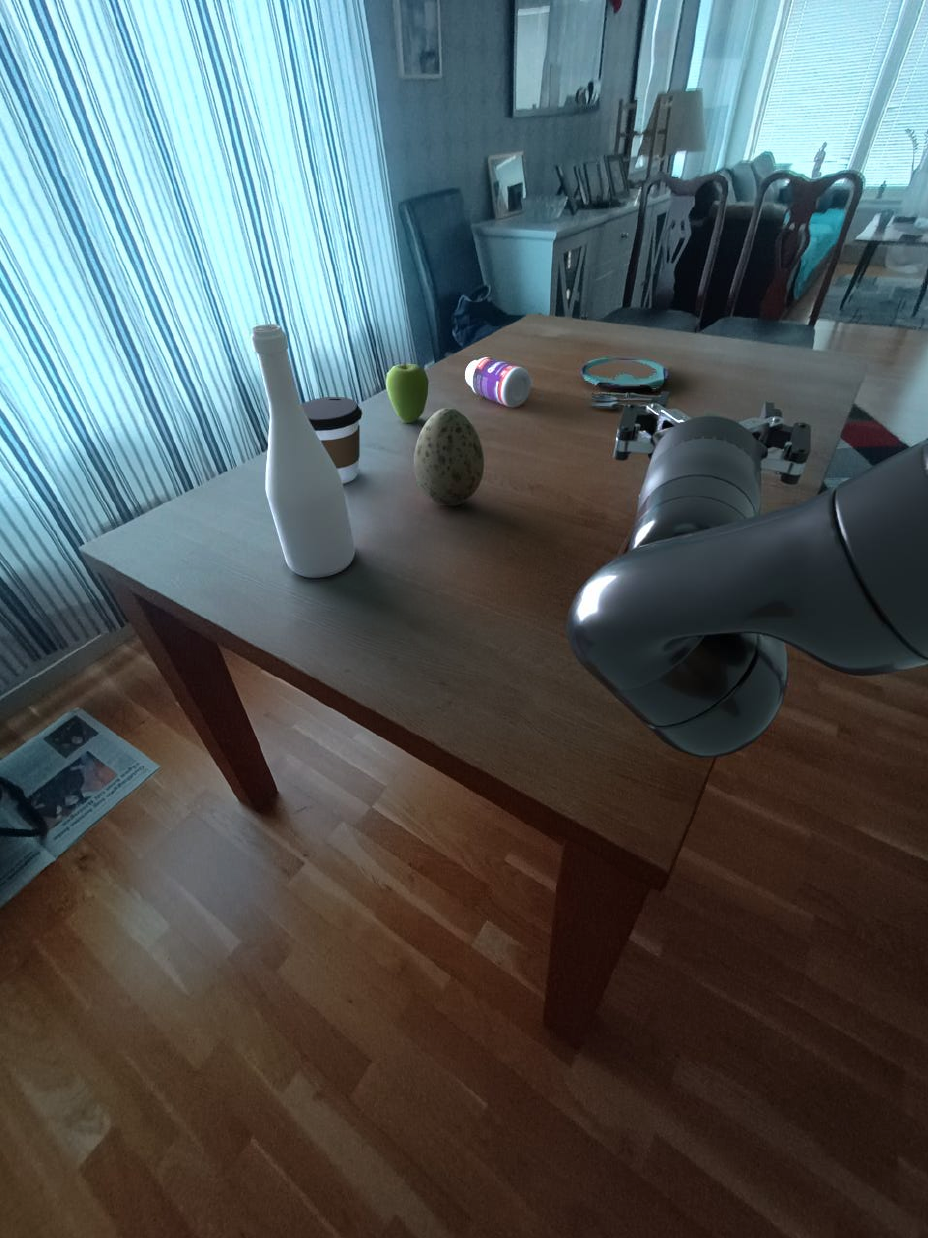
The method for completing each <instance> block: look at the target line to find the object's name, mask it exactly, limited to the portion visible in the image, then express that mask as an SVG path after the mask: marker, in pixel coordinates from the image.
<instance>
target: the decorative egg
mask: <svg viewBox="0 0 928 1238" xmlns="http://www.w3.org/2000/svg"><path fill="white" fill-rule="evenodd" d="M483 450H484V449H483V446H482V443H481V440H480V437H479V435H478V432H477V431H476V429H475V427H474V425H473V424H472V423H471V420H469V419H468V418H467V417H466V416H465V414H463V413H462V412H460V411H459V410H457V409H456V408H452V407H444V408H441V409H438V410H437V411H436V412H435V413H433V414H432V416H430V418H428V420H427V421H426V422H425V424H424V425H423V427H422V429H421V430H420V433H419V435H418V438H417V441H416V444H415V449H414V455H413V469H414V470H413V471H414V474H415V479H416V481H417V484H418V486H419V488H420V489H421V491H422V492H423V494H425V496H426V497H427V498H429V499H430V500H431V501H432V502H435V503H437V504H440V505H441V506H457V505H460V504H462V503H464V502H466V501H467V500H469V499H470V498H471V497H472V496H473V495H474V494H475V492H476V491H477V490H478V488H479V487H480V484H481V482H482V479H483V476H484V468H485V457H484V451H483Z"/></svg>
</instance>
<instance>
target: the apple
mask: <svg viewBox="0 0 928 1238" xmlns="http://www.w3.org/2000/svg"><path fill="white" fill-rule="evenodd" d="M385 387H386V392H387V396H388V399H389V401H390V402H391V406H392V408H393V410H394V412H395V414H396V415H397V417H398V418H399V419H400V420H401V421H402V422H403V423H405V424H409V423H414V422H416V421H418V420H419V418H420V417H421V416H422V415H423V413H424V412H425V408H426V404H427V400H428V396H429V378H428V375H427V373H426V371H425V370H424V368H422V367H421V366H419V365H418V364H415V363H406V362H404V363H403V364H396V365H393V366H392V367H391V368H390V369H389V371H388V372H387V373H386V379H385Z"/></svg>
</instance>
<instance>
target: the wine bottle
mask: <svg viewBox="0 0 928 1238" xmlns="http://www.w3.org/2000/svg"><path fill="white" fill-rule="evenodd" d="M250 333H251V334H250V336H249V338H250V342H251V346H252V349H253V352H254V353H255V354H256V355H257V359H258V363H259V368H260V373H261V376H262V382H263V385H264V389H265V390H264V391H265V393H266V398H267V402H268V408H269V425H268V426H269V427H268V440H267V441H268V442H267V453H266V454H267V455H266V456H267V457H266V467H265V495H266V498H267V502H268V505H269V508H270V511H271V515H272V519H273V522H274V525H275V528H276V532H277V535H278V539H279V542H280V545H281V549H282V552H283V555H284V559H285V562H286V564H287V566H288V567H289V569H290V570H291V571H292V572H293V573H295V574H297V575H298V576H301V577H305V578H309V579H310V578H311V579H317V578H326V577H327V578H328V577H330V576H334V575H336V574H338V573H341V572H342V571H344V570H345V569H346V568H347V567H349V565H351V563H352V562H353V560H354V558H355V554H356V553H355V551H356V547H355V543H354V538H353V532H352V527H351V522H350V516H349V510H348V506H347V505H348V504H347V500H346V495H345V490H344V485H343V484H344V483H343V484H342V479H341V476H340V474H339V472H338V470H337V468H336V466H335V464H334V463H333V461H332V459H331V458H330V456H329V454H328V453H327V451H326V449H325V448H324V446H323V444H322V442H321V441H320V439H319V437H318V435H317V434H316V432H315V430H314V428H313V427H312V425H311V423H310V421H309V420H308V418H307V416H306V414H305V413H304V410H303V408H302V406H301V405H302V404H301V401H300V398H299V395H298V394H299V393H298V390H297V385H296V381H295V378H294V373H293V369H292V365H291V361H290V357H289V354H288V349H289V343H288V338H287V333H286V332H285V331H284V330H283V327H282V326H281V325H280V324H276V323H265V324H260V325H255V326H253V327H252V328H251V329H250Z"/></svg>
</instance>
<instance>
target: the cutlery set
mask: <svg viewBox="0 0 928 1238" xmlns="http://www.w3.org/2000/svg"><path fill="white" fill-rule="evenodd" d="M613 360H627V361H637V362H640V363H643V364H647V365H649V366H651V367H652V368H654V369H656V370H655V371H657V372H656V373H657V374H656V373H654V374H653V375H652V376H649V378H647V379H646V378H645V379H644V378H642V379H641V378H640V379H639V378H637V379H638V380H636V378H635V379H634V377H635V376H634V375H633V376H634V377H633V376H632V375H630V374H629V375H628V374H624V373H623V374H624V375H623V374H622V375H620V374H619V377H618V376H617V375H616V376H617V377H615V378H614V379H616V380H612V379H611V378H612V377H611V378H610V379H609V378H608V377H607V378H608V379H607V378H604V377H603V378H602V377H599V376H597V375H596V376H594V375H592V374H591V375H590V373H589V371H588V369H589V368H591V367H592V366H596V365H598V364H602V363H606V362H608V361H613ZM580 372H581V376H582V377H583V380H584V381H585V382H586V381H588V382H590V383H592V384H595V385H594V386H596V385H599V384H600V386H603V385H604V387H607V388H615V389H631V388H634V389H643V388H644V389H645V388H650V389H652V393H655V392H656V391H658V390H659V389H660V388H661V387H663V385H664V383H665V382H666V381H667V380H668V377H669V375H670V374H669V372H668V370H667V369H666V368H665V367H664V365H662V364H661V363H658V362H655V361H652V360H648V359H639V358H626V357H620V358H619V357H618V358H617V357H616V358H612V357H600V358H596V359H595V358H594V359H591V360H588V361H587V362H586V364H584V365H582V367H581V369H580ZM637 377H638V376H637ZM617 378H618V379H617ZM588 382H587V383H588ZM602 382H605V383H602ZM590 383H589V384H590ZM592 384H591V385H592ZM611 384H615V385H611ZM639 384H645V385H640V386H620V385H639ZM660 386H661V387H660ZM657 387H660V388H657ZM653 388H656V389H653ZM598 392H599V393H600V392H601V394H594V393H592V392H591V395H590V397H589V398H590V399H591V400H592V401H594V402H589V404H588V406H589V407H592V408H604V409H611V410H612V409H613V410H616V409H618V408H624V405H626V404H627V403H619V402H639V403H640V402H641V403H642V402H643V403H650V401H651V398H652V397H654V396H655V395H648V394H639V393H634V392H630V393H629V392H628V391H626V393H621V392H610V393H609V391H608V393H607V391H598ZM611 394H616V395H611ZM628 395H629V396H628ZM595 396H599V397H595ZM605 396H606V397H605ZM644 396H649V397H648V398H645V397H644ZM592 397H593V398H592ZM618 397H625V398H618ZM629 397H630V398H629ZM639 397H641V398H639ZM642 397H643V398H642ZM637 405H638V406H639V409H638V410H640V409H646V408H647V405H648V404H637Z"/></svg>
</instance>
